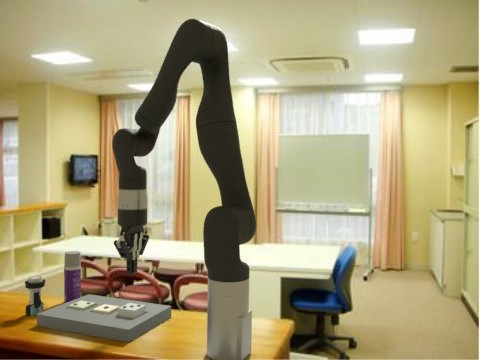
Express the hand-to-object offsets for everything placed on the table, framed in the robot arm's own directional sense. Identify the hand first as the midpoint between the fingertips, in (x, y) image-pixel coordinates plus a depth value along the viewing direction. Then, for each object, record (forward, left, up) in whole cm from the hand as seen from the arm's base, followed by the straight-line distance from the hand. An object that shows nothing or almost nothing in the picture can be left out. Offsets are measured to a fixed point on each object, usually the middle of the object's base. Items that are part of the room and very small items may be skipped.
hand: (132, 273), depth 121 cm
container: (+28, -10, -14) cm, 33 cm away
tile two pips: (+16, 0, -12) cm, 20 cm away
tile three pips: (0, 0, -11) cm, 11 cm away
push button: (+30, +2, -14) cm, 33 cm away
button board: (+8, 0, -14) cm, 16 cm away
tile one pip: (+8, 0, -12) cm, 15 cm away
